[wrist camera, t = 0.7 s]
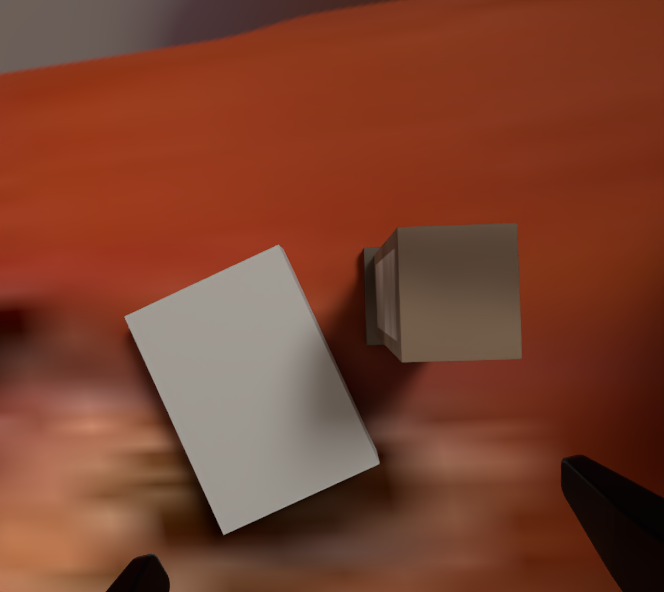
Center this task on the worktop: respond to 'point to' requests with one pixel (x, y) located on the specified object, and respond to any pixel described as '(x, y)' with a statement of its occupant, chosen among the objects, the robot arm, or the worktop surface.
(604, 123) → the worktop surface
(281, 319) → the display block
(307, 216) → the worktop surface
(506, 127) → the worktop surface
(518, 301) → the brown box on plinth
